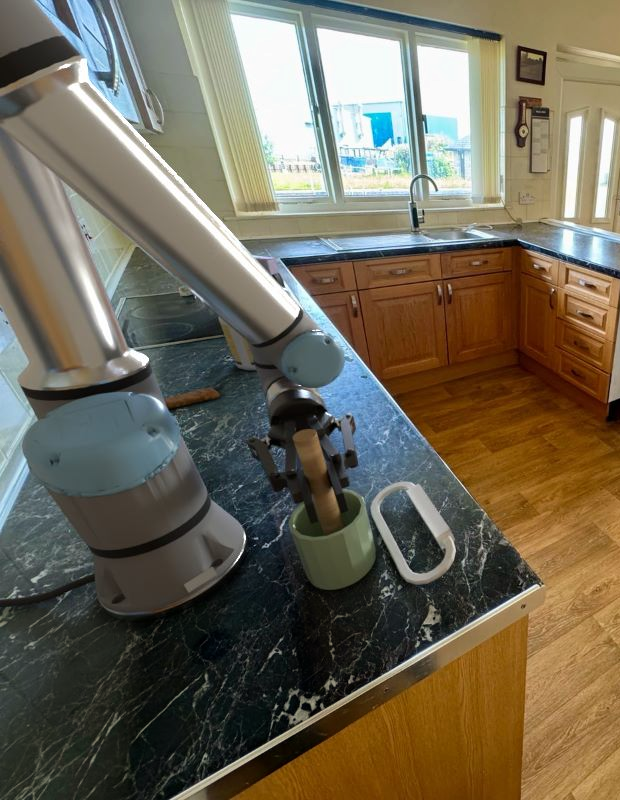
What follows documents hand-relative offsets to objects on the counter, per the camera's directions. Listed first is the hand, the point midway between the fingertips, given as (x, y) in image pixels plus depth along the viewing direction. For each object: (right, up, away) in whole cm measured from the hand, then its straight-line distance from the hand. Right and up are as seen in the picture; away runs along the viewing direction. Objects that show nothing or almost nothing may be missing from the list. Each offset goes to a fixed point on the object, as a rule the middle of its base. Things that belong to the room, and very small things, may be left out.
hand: (327, 508), depth 46 cm
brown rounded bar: (-55, +10, +44) cm, 71 cm away
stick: (-3, -6, +9) cm, 11 cm away
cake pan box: (-72, +43, +101) cm, 131 cm away
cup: (-3, -10, +11) cm, 15 cm away
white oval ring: (+5, -8, +16) cm, 18 cm away
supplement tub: (-48, +21, +64) cm, 83 cm away
